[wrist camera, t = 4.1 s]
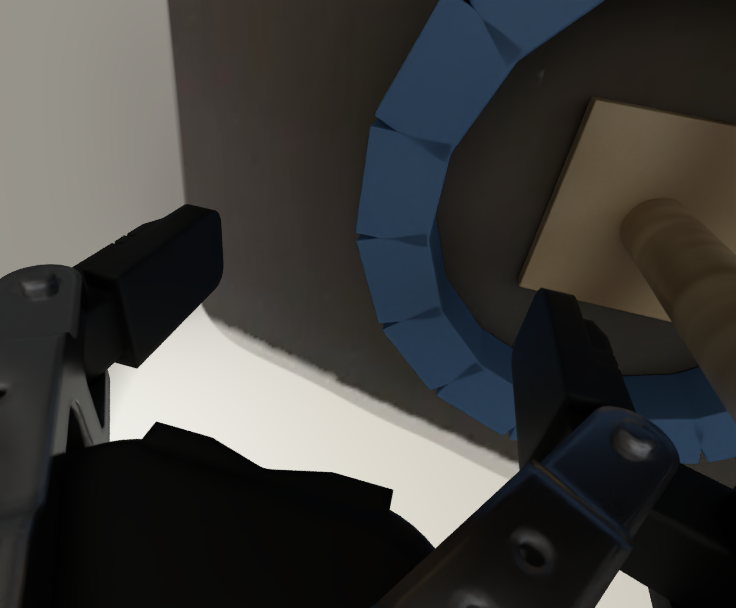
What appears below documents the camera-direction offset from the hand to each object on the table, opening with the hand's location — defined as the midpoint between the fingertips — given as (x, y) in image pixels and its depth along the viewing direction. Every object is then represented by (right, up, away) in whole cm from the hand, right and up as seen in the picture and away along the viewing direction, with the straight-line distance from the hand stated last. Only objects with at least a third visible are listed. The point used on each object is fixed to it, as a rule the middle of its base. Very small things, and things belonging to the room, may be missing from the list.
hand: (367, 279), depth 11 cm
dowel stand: (+11, +3, +7) cm, 14 cm away
